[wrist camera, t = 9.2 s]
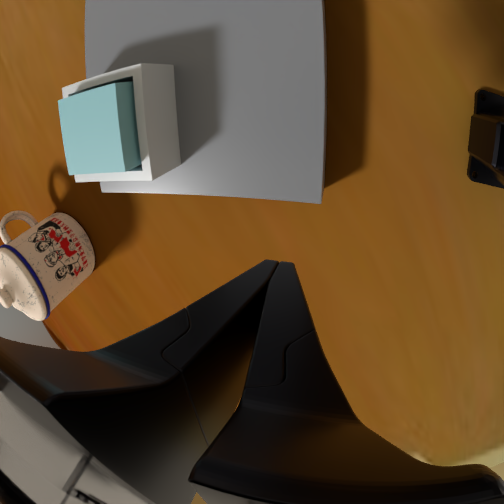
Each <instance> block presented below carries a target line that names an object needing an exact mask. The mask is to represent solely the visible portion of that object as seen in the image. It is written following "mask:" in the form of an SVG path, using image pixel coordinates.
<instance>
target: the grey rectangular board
mask: <svg viewBox="0 0 504 504" xmlns="http://www.w3.org/2000/svg"><path fill="white" fill-rule="evenodd" d="M85 61H86V80H83V81H80V82H77V83H74V84H72V85H69V86H66V87H64V88H62V91H63V99H64V98H67V97H70V96H73V95H76V94H79V93H82V92H85V91H88V90H91V89H95V88H98V87H102V86H105V85H109V84H113V83H119V82H131V81H133V85H134V99H135V110H136V120H137V130H138V139H139V147H140V155H141V163H142V164H141V165H139V166H137V167H135V168H133V169H131V170H129V171H126V172H113V173H94V174H78V175H74V176H75V181H76V182H97V181H100V186H101V191H102V192H114V193H164V194H190V195H211V196H229V197H245V198H259V199H272V200H285V201H296V202H307V203H317V204H321V201H322V196H323V191H324V180H325V159H326V128H327V53H326V24H325V5H324V0H86V3H85Z"/></svg>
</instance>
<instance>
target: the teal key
mask: <svg viewBox="0 0 504 504" xmlns="http://www.w3.org/2000/svg"><path fill="white" fill-rule="evenodd" d="M58 105H59V114H60V123H61V130H62V137H63V144H64V150H65V156H66V162H67V167H68V172H69V175H78V174H94V173H113V172H126V171H129V170H131V169H133V168H135V167H137V166H139V165H141V164H142V163H141V155H140V147H139V139H138V130H137V120H136V110H135V99H134V85H133V81H131V82H119V83H113V84H109V85H105V86H102V87H98V88H95V89H91V90H88V91H85V92H82V93H79V94H76V95H73V96H70V97H67V98H64V99H61V100H58Z"/></svg>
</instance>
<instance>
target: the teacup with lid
mask: <svg viewBox="0 0 504 504" xmlns="http://www.w3.org/2000/svg"><path fill="white" fill-rule="evenodd" d="M15 219H20V220H24V221H26V222H27V223H28V224H29V225H30V226H31V227H32V228H30V229H29V230H27V231H26V232H24V233H23V234H21V235H20V236H18V237H17V238H15V239H14V240H11V239H10V237H9V235H8V234H7V232H6V229H5V225H6V223H8V222H9V221H11V220H15ZM0 236H1V238H2V240H3V242H4V243H5V244H4V245H2V246H0V287H1V289H0V302H1V304H2V305H3V306H4V307H5V308H9V307H10V306H11V305H13V307H15V308H16V309H18V310H20V311H22V312H24V313H25V314H26V315H27V316H29V317H30V318H32V319H34V320H38V321H41V320H44V319H46V318H48V317H49V315H50V312H51V311H52V310H53V309H54V308H55V307H56V306H57V305H58V304H59V303H60V302H61V301H62V300H63V299H64V298H65V297H66V296H67V295H68V294H69V293H71V292H72V291H73V290H74V289H75V288H76V287H77V286H78V285H79V284H80V283H81V282H82V281H84V280H85V279H86V278H87V277H88V276H89V275H90V274H91V273H92V271H93V269H94V265H95V256H94V251H93V247H92V244H91V242H90V240H89V238H88V236H87V234H86V232H85V231H84V229H83V228H82V227H81V226H80V224H79V223H78V222H77V221H76V220H75V219H73V218H72V217H71V216H69V215H67V214H64V213H54V214H52V215H50V216H49V217H47V218H46V219H44V220H43V221H41V222H39V223H38V222H37V221H36V219H35V218H34V217H33V216H32V215H31V214H29V213H27V212H25V211H13V212H10V213H8V214H6V215H5V216H4V217H3V218H2V220H1V223H0Z"/></svg>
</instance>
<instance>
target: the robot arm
mask: <svg viewBox="0 0 504 504" xmlns="http://www.w3.org/2000/svg"><path fill="white" fill-rule="evenodd" d="M481 94H483V96H484V99H483V100H481V98H480V95H481ZM468 152H469V153H470V156H469V163H468V169H467V176H468V178H469V179H470V180H472V181H474V182H478V183H482V184H487V185H491V186H495V187H499V188H503V189H504V97H503V96H500V95H497V94H494V93H491V92H488V91H485V90H477V91H476V92H475V104H474V114H473V115H472V116H471V126H470V136H469V145H468ZM474 171H475V172H476V174H475V176H473V177H472V173H473V172H474ZM241 395H242V396H241ZM240 398H241V400H240ZM239 400H240V403H239V405H238V402H239ZM237 405H238V407H237ZM236 407H237V409H236ZM235 409H236V411H235ZM234 411H235V412H234ZM196 492H197V493H198V494H199V495H200V496H201V497H202V498H203V499H204V501H205V502H206V503H207V504H504V481H503V480H502V479H501V477H500V476H498V475H497V474H496V473H495V472H493V471H492V470H491V469H490V468H488V467H487V466H485V465H481V464H468V465H460V466H435V465H430V464H427V463H424V462H421V461H419V460H417V459H415V458H413V457H412V456H410V455H408V454H407V453H405V452H404V451H402V450H401V449H399V448H397V447H396V446H394V445H393V444H391V443H390V442H388V441H387V440H385V439H384V438H382V437H381V436H379V435H378V434H376V433H375V432H373V431H372V430H370V429H369V428H367V427H366V426H365V425H364V424H363V423H362V422H361V421H360V420H359V419H358V418H357V416H356V415H355V413H354V412H353V410H352V408H351V406H350V404H349V403H348V401H347V399H346V397H345V395H344V393H343V391H342V389H341V387H340V385H339V383H338V381H337V379H336V377H335V375H334V373H333V371H332V369H331V367H330V365H329V363H328V361H327V359H326V357H325V354H324V352H323V349H322V346H321V344H320V341H319V338H318V335H317V332H316V329H315V326H314V323H313V320H312V316H311V313H310V310H309V307H308V304H307V301H306V298H305V295H304V292H303V289H302V286H301V283H300V280H299V277H298V274H297V271H296V268H295V265H294V263H291V262H283V261H282V262H280V263H279V262H278V261H274V260H264V261H262V262H261V263H259V264H257V265H256V266H254V267H253V268H251V269H249V270H248V271H246V272H244V273H243V274H241V275H239V276H238V277H236V278H234V279H232V280H231V281H229V282H227V283H226V284H224V285H222V286H221V287H219V288H217V289H216V290H214V291H212V292H211V293H209V294H207V295H206V296H204V297H202V298H201V299H199V300H197V301H195V302H194V303H192V304H190V305H189V306H187V307H186V308H183V309H182V310H180V311H178V312H177V313H175V314H173V315H171V316H170V317H168V318H166V319H164V320H162V321H161V322H159V323H157V324H155V325H152V326H150V327H148V328H146V329H144V330H142V331H140V332H138V333H136V334H134V335H131V336H129V337H127V338H125V339H123V340H120V341H118V342H116V343H114V344H112V345H109V346H107V347H105V348H102V349H99V350H95V351H90V352H77V351H69V350H62V349H55V348H48V347H42V346H36V345H31V344H25V343H20V342H16V341H11V340H8V339H5V338H2V337H0V504H191V502H192V500H193V497H194V496H195V494H196Z"/></svg>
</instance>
